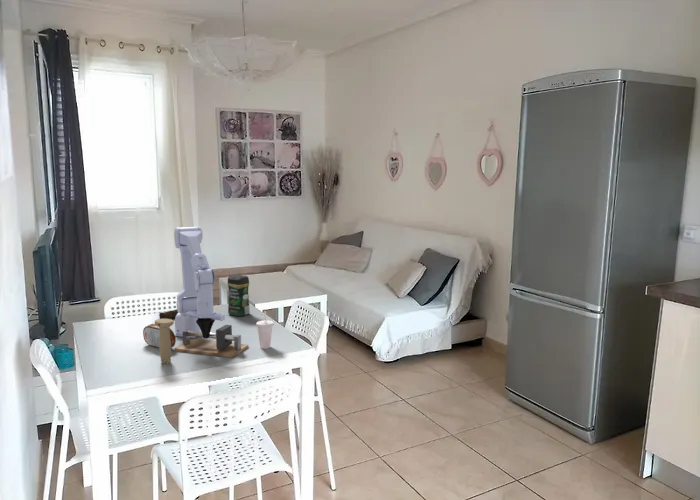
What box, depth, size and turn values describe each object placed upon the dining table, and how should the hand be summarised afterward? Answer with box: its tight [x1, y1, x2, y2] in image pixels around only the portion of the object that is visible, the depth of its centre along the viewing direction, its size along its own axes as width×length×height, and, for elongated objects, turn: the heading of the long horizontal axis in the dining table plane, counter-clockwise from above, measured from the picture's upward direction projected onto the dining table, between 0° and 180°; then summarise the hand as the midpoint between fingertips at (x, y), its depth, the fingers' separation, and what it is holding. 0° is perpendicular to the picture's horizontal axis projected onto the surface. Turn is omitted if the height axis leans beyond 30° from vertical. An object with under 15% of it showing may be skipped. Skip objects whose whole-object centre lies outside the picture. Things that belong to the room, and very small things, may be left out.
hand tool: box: [158, 309, 178, 319], centre depth 243 cm, size 19×4×5 cm, turn 139°
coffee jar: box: [227, 273, 251, 317], centre depth 246 cm, size 10×8×19 cm
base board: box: [174, 338, 249, 359], centre depth 201 cm, size 24×12×1 cm, turn 74°
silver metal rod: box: [182, 329, 242, 351], centre depth 200 cm, size 23×2×5 cm, turn 74°
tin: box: [142, 323, 177, 349], centre depth 202 cm, size 15×3×8 cm, turn 61°
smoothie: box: [256, 311, 274, 350], centre depth 202 cm, size 6×6×14 cm
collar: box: [215, 324, 233, 350], centre depth 198 cm, size 2×7×7 cm, turn 164°
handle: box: [154, 318, 175, 365], centre depth 186 cm, size 5×6×15 cm
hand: (206, 337), depth 197 cm, fingers closed
